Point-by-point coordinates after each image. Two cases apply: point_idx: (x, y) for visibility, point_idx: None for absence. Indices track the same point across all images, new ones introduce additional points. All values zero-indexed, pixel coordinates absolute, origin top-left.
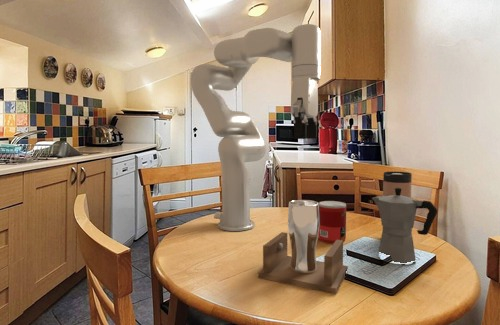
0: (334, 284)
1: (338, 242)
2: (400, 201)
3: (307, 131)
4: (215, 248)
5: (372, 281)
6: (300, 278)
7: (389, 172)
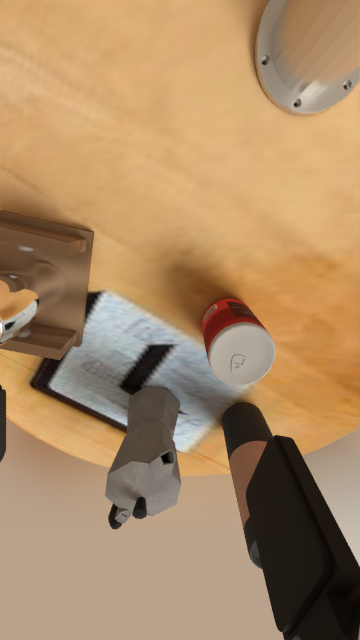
0: None
1: (46, 352)
2: (112, 491)
3: (286, 499)
4: (108, 54)
5: (60, 370)
6: None
7: None
